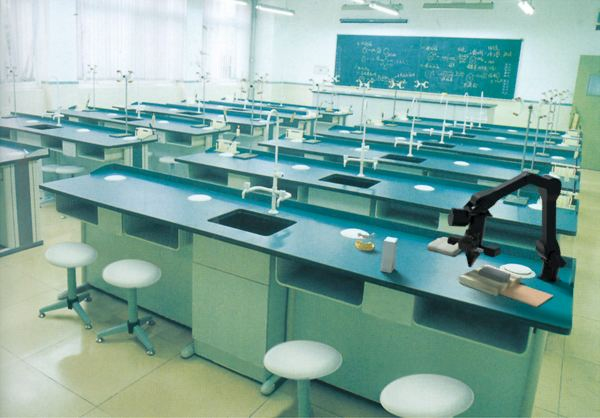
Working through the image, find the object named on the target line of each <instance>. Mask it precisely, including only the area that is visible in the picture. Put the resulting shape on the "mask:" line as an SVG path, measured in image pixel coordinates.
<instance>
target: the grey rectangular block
mask: <svg viewBox="0 0 600 418" xmlns="http://www.w3.org/2000/svg"><path fill="white" fill-rule="evenodd" d="M478 275H480V276H483V277H486V278H489V279H492V280H495V281H498V282H501V283H503V282H505V281H507V280H509V279H510V275H511V274H509V273H506V272H503V271H500V270H497V269H494V268H491V267H488V266H486V267H484V268H482V269H480V270H479V274H478Z"/></svg>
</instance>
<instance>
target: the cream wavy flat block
mask: <svg viewBox="0 0 600 418" xmlns="http://www.w3.org/2000/svg"><path fill="white" fill-rule="evenodd" d="M486 266H488V267H491V268H494V269H497V270H500V271H503V272H506V273H509V274H511V275H510V279H509V280H507V281H505V282H503V283H501V282H498V281H495V280H492V279H489V278H486V277H483V276H480V275H478V274H479V270H480V269H482V268H484V267H486ZM522 278H523V276H522V275H520V274H518V273H514V272H511V271H508V270H504V269H501V268H498V267H495V266H493V265H489V264H484V265H481V266H479V267H477V268H475V269H473V270H469V271H468V272H466V273H464V274H461V275H460V276H459V280H458V283H460V284H462V285H465V286H467V287H470V288H473V289H476V290H478V291H481V292H484V293H486V294H489V295H492V296H494V297H497V296H499V295H501V294H500V293H501V292H503V291H504V290H506V289H508V288H510V287H512V286H514V285H515V284H517V283H518V284H521V283H522Z"/></svg>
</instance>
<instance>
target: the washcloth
mask: <svg viewBox="0 0 600 418" xmlns="http://www.w3.org/2000/svg"><path fill="white" fill-rule="evenodd" d="M447 240H448V237H446V236H442V237H437V238H436V239H435V240H433V241H431V242H429V243H428V244H427V246H426V249H427V250H429V251H432V252H437V253H439V254H443V255H446V256H451V257H452V256H455V255H456V254H458V253H460V252H461V251H462V250H461V249H459V248H458V243H457V244H455V245H451V244H448V243H447Z"/></svg>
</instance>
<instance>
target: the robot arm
mask: <svg viewBox="0 0 600 418" xmlns="http://www.w3.org/2000/svg"><path fill="white" fill-rule="evenodd" d="M528 185H532V186H535V187H537V190H538V193H539V196H540V199H541V237H540V238H539V239H536V240H535V249H534V250H535V251H536V252H537V254H538V255H539V258H540V260H541V261H543V262H542V266H541V272H540V273H539V274H538V275H536V278H538V279H540V280H543V281H547V282H549V283H553V284H556V282H559V281H560V280H561V277H558V276H559V272H560V268H561V269H563V268H565V266H566V264H567V262H566V261H565V259H564V258H563V257H562V251H561V246H560V244H559V242H558V239H557V201H558V199H559V198H560V195H561V192H562V187H563V186H562V185H563V182H562V181H561V180H560V178H558V177H555V176H552V175H550V174H543V175H540V174H536V173H533V172H531V171H528V170H527V171H526V170H525V171H522V172H521V173H519V174H518V175H516V176H514V177H512V178H510V179H507V180H506V181H504V182H503V183H500V184H498V185H496V186H495V187H492V188H490V189H483V190H480V191H477V192H475V193H473V194H472V195H471V196H470V199H469V200H468V201H467V202H466V203H465V204H464V205H463V206H462V208H461V207H460V208H459V207H451V210H450V211H449V212H448V215H447V224H448V227H455V228H456V227H460V228H464V227H465V228H466V227H467V228H466V229H465V232H464V235H459V234H456V233H455V234H452V235H450V236H448V237H447V238H448V240H447V243H448V244H451V245H455V244H457V243H458V248H459V249H461V251H463V253H464V255H465V257H466V263H467V266H468V268H472V267H473V266H474V264H475V262H476V261H477V259H478V258H479V256H480V255H481V254H483V255H484V256H486V257H490V258H495V257H498V256H499V255H501V252H502V250H501V247H500V246H497V245H494V244H489V245H483V244H484V242H485V240H484V234H486V232H487V231H486V222H487V218H493V217H494V216H493V214H492V213H491V212H490V209H491V208H493V207H494V206H495V205H496V204H497V203H498V201H500V200H501V199H503V198H505V197H507V196H509V195H511V194H513V193H515V192H516V191H518V190H521V189H522V188H524V187H527V186H528Z"/></svg>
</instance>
